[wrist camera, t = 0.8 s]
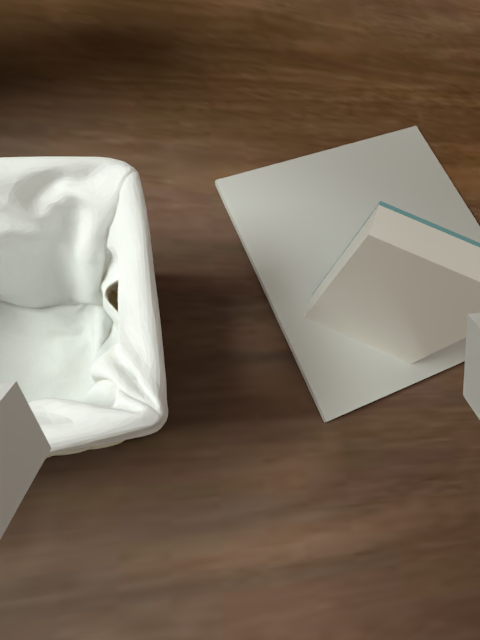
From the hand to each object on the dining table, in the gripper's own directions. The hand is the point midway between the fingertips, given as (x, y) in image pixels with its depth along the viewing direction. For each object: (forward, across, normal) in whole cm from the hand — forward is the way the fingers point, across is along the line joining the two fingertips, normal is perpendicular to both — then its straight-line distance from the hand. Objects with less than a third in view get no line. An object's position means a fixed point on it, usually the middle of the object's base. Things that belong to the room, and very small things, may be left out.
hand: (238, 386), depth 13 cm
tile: (+23, +8, -12) cm, 27 cm away
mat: (+29, +11, -8) cm, 32 cm away
